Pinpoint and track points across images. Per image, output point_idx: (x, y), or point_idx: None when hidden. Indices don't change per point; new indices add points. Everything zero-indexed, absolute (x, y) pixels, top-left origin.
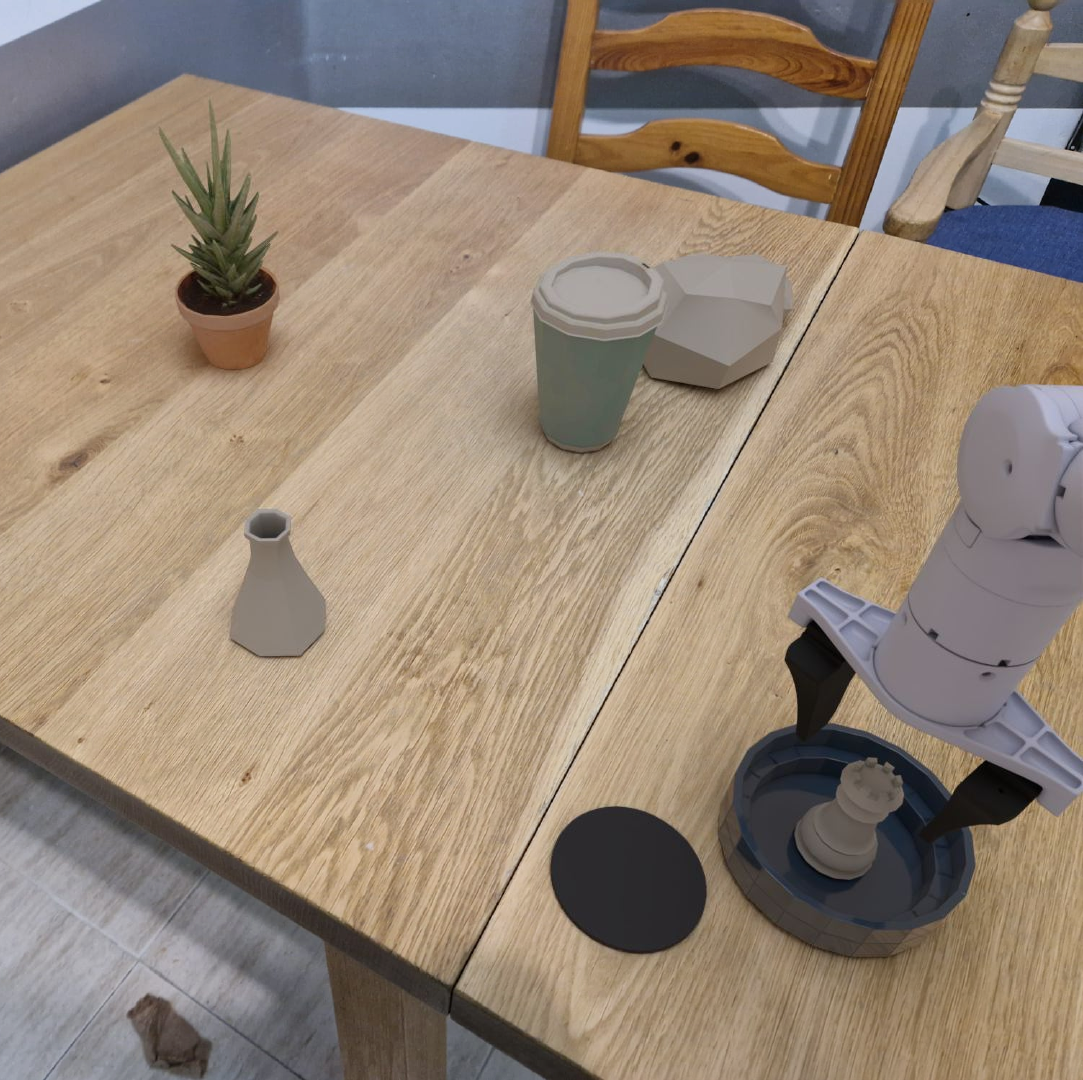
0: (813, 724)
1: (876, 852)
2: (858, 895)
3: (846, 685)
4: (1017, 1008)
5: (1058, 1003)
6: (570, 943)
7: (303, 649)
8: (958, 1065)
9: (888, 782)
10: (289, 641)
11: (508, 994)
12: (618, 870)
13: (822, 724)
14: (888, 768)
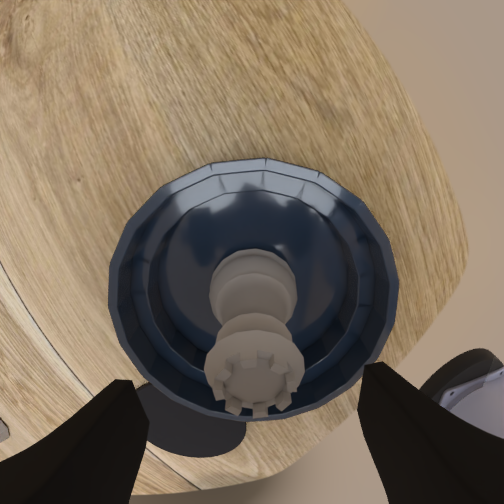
0: (135, 454)
1: (284, 247)
2: (305, 302)
3: (83, 450)
4: (440, 255)
5: (456, 222)
6: (210, 459)
7: (4, 426)
8: (426, 328)
9: (269, 373)
10: (1, 434)
11: (219, 483)
12: (179, 427)
13: (133, 411)
14: (251, 366)
